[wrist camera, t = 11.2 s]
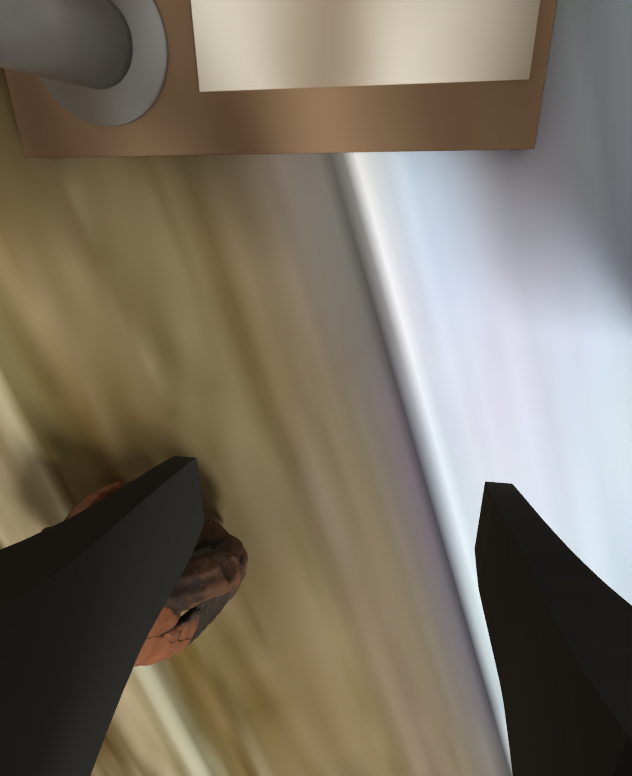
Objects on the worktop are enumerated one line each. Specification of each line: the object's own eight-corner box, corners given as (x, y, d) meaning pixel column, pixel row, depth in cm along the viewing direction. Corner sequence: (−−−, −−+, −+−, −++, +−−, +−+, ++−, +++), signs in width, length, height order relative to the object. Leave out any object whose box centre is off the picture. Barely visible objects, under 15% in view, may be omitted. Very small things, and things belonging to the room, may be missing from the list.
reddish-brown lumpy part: (183, 622, 32) (54, 702, 25) (137, 482, 33) (3, 524, 27) (319, 601, 25) (190, 704, 18) (255, 425, 26) (111, 462, 20)
